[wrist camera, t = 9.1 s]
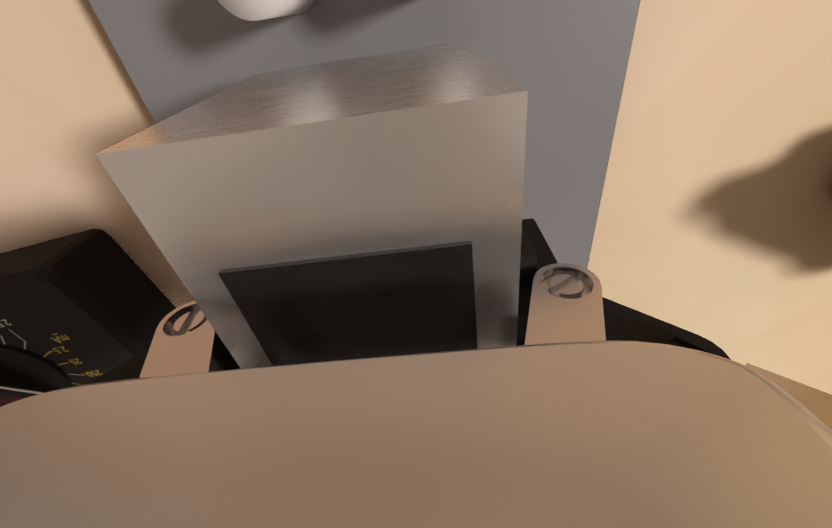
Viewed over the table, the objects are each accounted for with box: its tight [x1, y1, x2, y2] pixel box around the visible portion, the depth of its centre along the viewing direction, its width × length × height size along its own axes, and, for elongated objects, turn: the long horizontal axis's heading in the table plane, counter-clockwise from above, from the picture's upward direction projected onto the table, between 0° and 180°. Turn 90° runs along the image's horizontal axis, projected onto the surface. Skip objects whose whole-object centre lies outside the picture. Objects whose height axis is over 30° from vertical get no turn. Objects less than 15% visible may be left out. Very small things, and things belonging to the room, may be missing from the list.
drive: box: [95, 40, 528, 369], centre depth 10 cm, size 10×6×6 cm, turn 8°
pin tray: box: [88, 0, 640, 269], centre depth 13 cm, size 18×16×5 cm
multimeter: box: [0, 229, 176, 407], centre depth 21 cm, size 13×19×5 cm
